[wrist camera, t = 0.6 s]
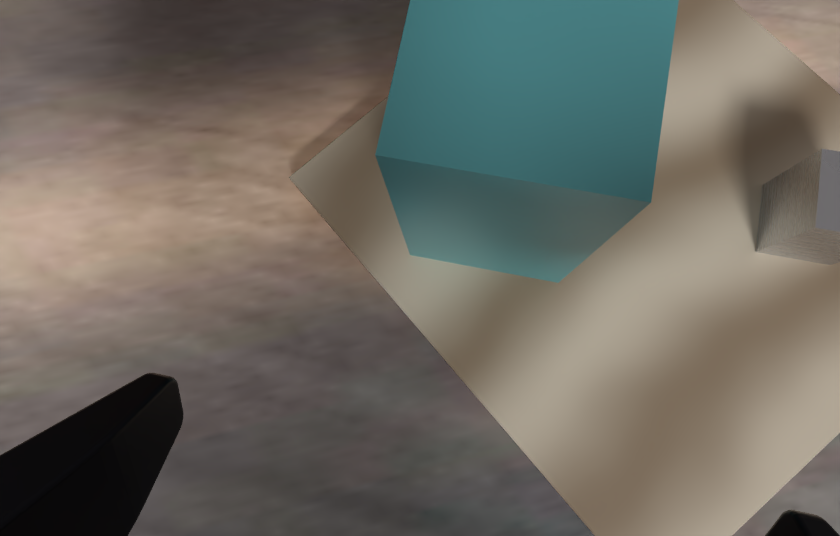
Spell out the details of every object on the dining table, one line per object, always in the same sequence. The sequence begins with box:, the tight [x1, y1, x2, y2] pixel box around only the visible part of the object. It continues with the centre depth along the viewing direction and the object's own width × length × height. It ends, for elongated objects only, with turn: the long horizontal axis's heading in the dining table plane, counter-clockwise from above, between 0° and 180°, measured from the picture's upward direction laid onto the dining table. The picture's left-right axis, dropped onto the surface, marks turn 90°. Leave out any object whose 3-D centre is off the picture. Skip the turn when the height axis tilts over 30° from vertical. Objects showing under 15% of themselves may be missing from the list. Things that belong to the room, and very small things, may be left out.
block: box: [756, 149, 840, 265], centre depth 19 cm, size 3×3×4 cm
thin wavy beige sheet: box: [289, 0, 840, 536], centre depth 22 cm, size 20×18×1 cm
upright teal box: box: [375, 0, 679, 283], centre depth 17 cm, size 6×6×10 cm
